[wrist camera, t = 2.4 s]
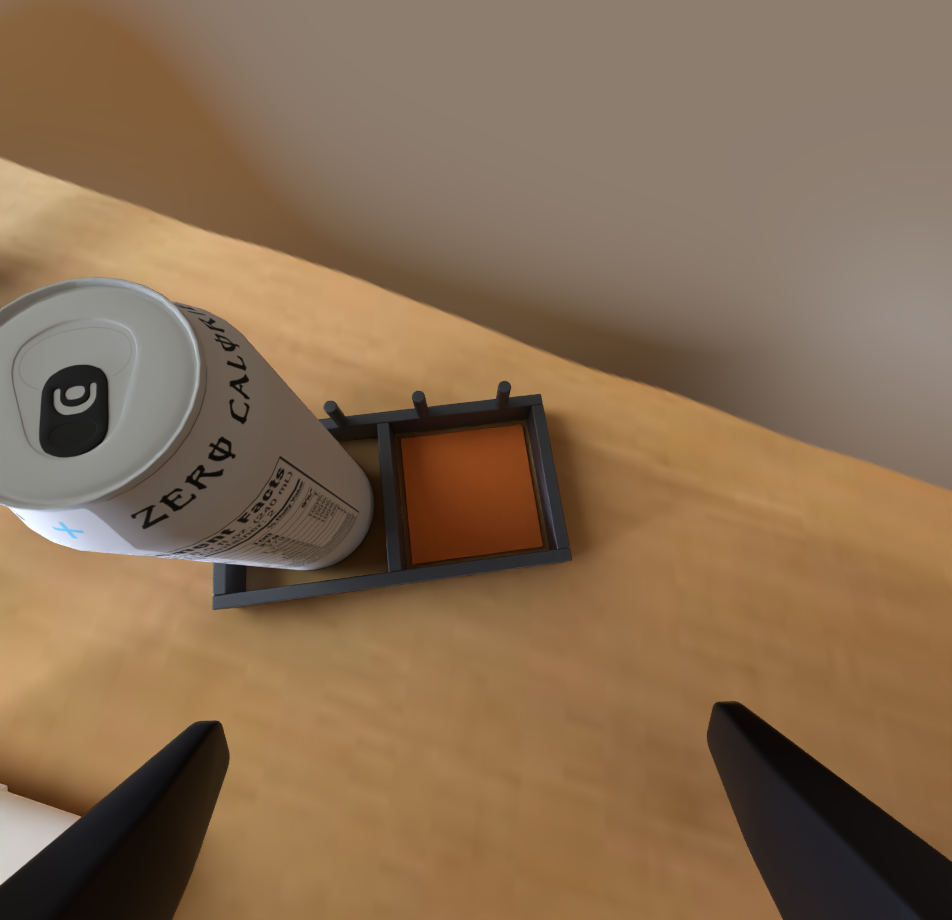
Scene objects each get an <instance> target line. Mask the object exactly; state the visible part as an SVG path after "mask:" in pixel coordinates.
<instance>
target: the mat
mask: <svg viewBox="0 0 952 920" xmlns="http://www.w3.org/2000/svg"><path fill="white" fill-rule="evenodd" d="M401 450H402V460H403V471H404V482H405V492H406V503H407V513H408V524H409V535H410V545H411V556H412V564H421V563H428V562H435V561H443V560H450V559H457V558H465V557H472V556H480V555H487V554H494V553H502V552H509V551H516V550H524V549H531V548H538V547H543V543H542V537H541V531H540V525H539V519H538V514H537V508H536V502H535V496H534V490H533V485H532V479H531V473H530V467H529V461H528V455H527V450H526V444H525V438H524V432H523V426H522V424H520V425H512V426H504V427H495V428H487V429H479V430H470V431H462V432H453V433H445V434H437V435H428V436H420V437H412V438H403V439H401Z"/></svg>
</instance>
